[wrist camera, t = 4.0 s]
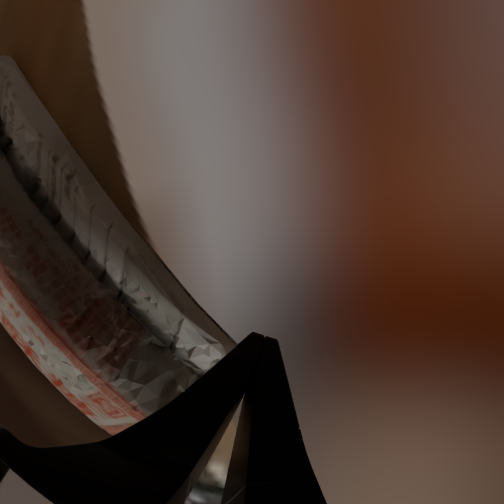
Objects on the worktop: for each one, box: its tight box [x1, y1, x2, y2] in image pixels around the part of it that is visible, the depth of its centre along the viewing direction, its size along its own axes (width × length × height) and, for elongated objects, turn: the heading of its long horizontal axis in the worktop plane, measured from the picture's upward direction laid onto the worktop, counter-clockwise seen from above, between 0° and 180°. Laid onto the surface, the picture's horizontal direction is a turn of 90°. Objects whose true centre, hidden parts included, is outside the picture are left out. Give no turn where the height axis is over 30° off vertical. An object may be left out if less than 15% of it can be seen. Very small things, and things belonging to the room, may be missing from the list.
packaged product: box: [0, 55, 238, 435], centre depth 10 cm, size 18×5×10 cm
